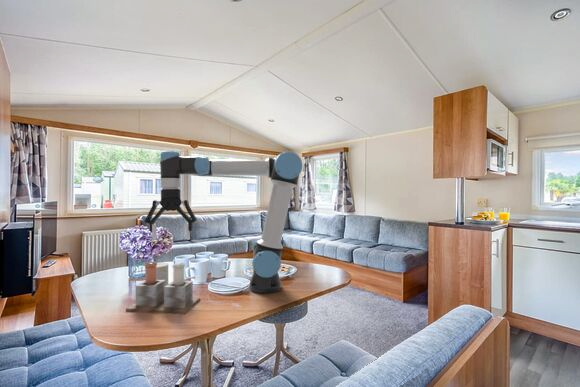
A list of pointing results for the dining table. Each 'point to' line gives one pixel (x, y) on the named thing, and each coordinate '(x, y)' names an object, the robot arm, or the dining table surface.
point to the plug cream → (178, 274)
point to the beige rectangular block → (162, 272)
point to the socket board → (164, 298)
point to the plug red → (150, 273)
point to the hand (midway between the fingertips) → (171, 239)
